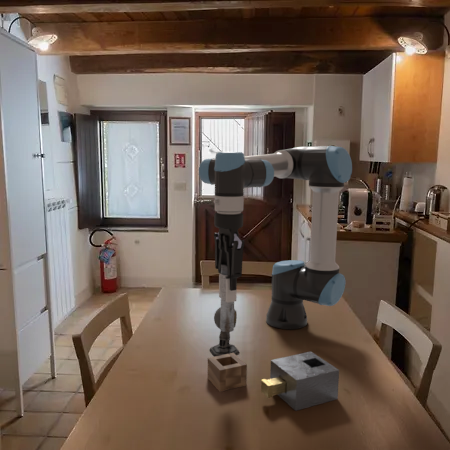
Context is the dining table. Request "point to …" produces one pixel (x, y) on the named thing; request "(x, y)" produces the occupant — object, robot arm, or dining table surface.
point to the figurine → (223, 338)
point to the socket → (306, 379)
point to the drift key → (273, 386)
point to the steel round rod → (226, 304)
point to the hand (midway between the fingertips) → (227, 298)
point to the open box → (227, 371)
